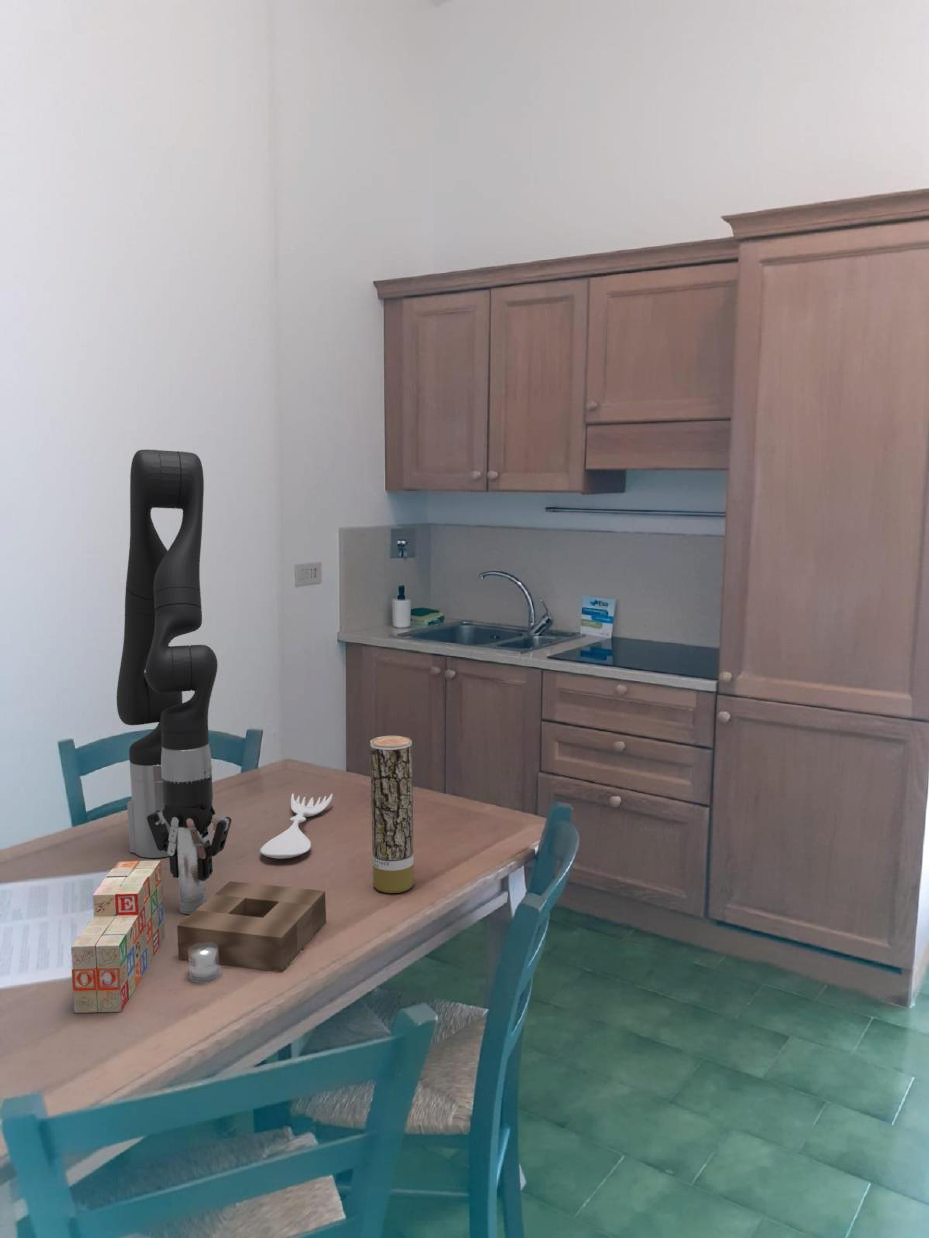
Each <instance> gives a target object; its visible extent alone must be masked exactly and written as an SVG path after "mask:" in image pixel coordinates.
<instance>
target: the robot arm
mask: <svg viewBox="0 0 929 1238" xmlns="http://www.w3.org/2000/svg"><path fill="white" fill-rule="evenodd" d="M129 476H130V477H129V478H130V480H129V483H130V484H129V502H130V503H129V504H130V505H129V516H130V517H129V519H130V520H129V522H130V523H129V525H130V526H129V527H130V528H129V533H130V534H129V548H128V549H129V550H128V561H127V570H126V571H127V572H126V582H125V598H124V630H123V632H124V633H123V645H122V651H121V652H122V653H121V660H120V665H119V673H118V680H117V686H116V687H117V688H116V710H117V714H118V717H119V719H120V721H121V722H122V723H123V724H125V725H126V726H141V725H149V724H155V723H158V724H157V726H156V727H155V728H154V729H153V730H151V732H149V733H148V734H146V735H145V736H143V737H141V738H140V739H138V740H136V741H134V742H133V743H131V745H130V746H129V749H128V756H129V759H128V760H129V773H130V787H131V789H130V790H131V791H130V792H131V800H128V802H127V803H126V807H127V808H126V810H127V824H128V825H127V826H128V827H127V828H128V840H129V841H128V843H129V844H128V845H129V853H131V852H132V853H134V854H135V855H137V856H138V855H139V857H142V858H147V859H149V858H150V859H151V858H152V859H156V858H160V859H161V858H165V857H166V858H167V857H169V859H168V860H169V871H170V874H172V877H173V879H174V878H175V879H178V859H177V831H178V827H179V826H186V827H188V829H189V830H190V833H191V836H192V840H193V843H194V845H195V846H196V847H197V850H198V853H199V857H200V858H199V859H198V865H199V880H200V881H205V882H206V881H207V880H208V879H209V878H210V876H212V875H213V857H215V856H217V855H218V854H219V853H220V852H222V851H223V850H224V848H225V845H226V841H227V838H228V834H229V832H230V828H231V825H232V818H231V817H230V816H225V817H223V816H220V815H218V814H216V811H215V809H214V806H213V798H214V794H213V792H214V791H213V771H212V770H213V765H212V755H211V754H212V753H211V749H210V741H209V739H210V737H209V736H210V735H209V708H210V702H211V697H212V693H213V689H214V685H215V681H216V677H217V673H218V658H217V655H216V653H215V651H213V650H214V649H212V648H211V647H209V646H208V645H206V644H190V645H172V646H170V643H171V642H172V640H174V639H175V638H177V637H179V636H182V635H187V634H190V633H193V632H196V631H198V630H199V629H200V628H201V627H202V624H203V612H202V610H203V609H202V598H201V597H202V596H201V593H202V592H201V584H200V583H201V581H200V578H201V577H200V573H201V571H200V570H201V568H200V565H201V564H200V563H201V552H202V551H201V549H202V548H201V547H202V539H203V538H202V536H203V535H202V534H203V516H204V515H203V514H204V513H203V512H204V493H205V492H204V491H205V488H204V487H205V483H204V482H205V480H204V479H205V478H204V470H203V464H202V461H201V459H200V457H199V456H198V454H196V453H195V452H194V453H193V452H190V451H188V452H187V451H179V450H178V451H176V450H159V449H140V450H139V449H138V450H137V451H136V452H135V453H134V455H133V457H132V460H131V467H130V474H129ZM156 508H157V509H173V510H174V509H175V510H177V509H179V510H182V519H181V524H180V528H179V530H178V532H177V534H176V536H175V539H174V540H173V542H172V543H171V545H170V546H169V548H168V549H167V547H166V545H164V542H163V541H162V540H161V537H160V536H159V533H158V531H157V529H156V527H155V525H154V522H153V519H152V514H151V513H152V509H156ZM191 691H193V692H194V693H193V695H192V696H191V697H190V699H189V700H187V701H185V702H183V692H191ZM211 824H212V825H213V826H212V827H213V828H212V829H213V831H214V833H213V837H212V833H211V829H210V827H209V826H210V825H211ZM201 834H203V836H202V837H201V836H200V835H201Z"/></svg>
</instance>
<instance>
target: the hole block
mask: <svg viewBox="0 0 929 1238" xmlns="http://www.w3.org/2000/svg"><path fill="white" fill-rule="evenodd" d="M326 909H327V908H326V890H320V889H311V888H310V889H309V888H300V887H293V886H291V887H290V886H279V885H270V884H261V883H260V884H259V883H253V882H252V883H251V882H241V881H232V880H230V881H229V882H227V883H226V884H225V885H224V886H222V887H221V888H220V889H219V890H218V891H216V892H215V893H214V894H213V895H211V896H210V898H208V899H206V902H205V903H203V904H202V905H201V906H200V907H199V908H197V909H196V910H195V911H194V912H193V913H192V914H188V916H186V917H185V918H184V919H183V920H182V921H181V922H180V923H178V924H177V925H176V930H177V931H176V932H177V933H176V934H177V951H178V959H179V960H187V961H189V955H188V950H189V948H190V947H191V946H193V945H195V944H197V943H201V942H213V943H216V944H217V945H218V950H219V965H225V966H234V967H242V968H250V969H259V970H266V971H267V970H268V971H272V972H273V971H275V972H284V970H286V969H287V967H288V966H289V965H290V963H292V962H293V960H294V959H295V958H296V957H297V956H298V954H299V953H301V952H302V950H303V949H304V947H306V945H307V944H308V943H309V942H310V941H311V939H312V938H313V937H314V936H315V935H316V934H317V933H318V932H319V931H320V929H321V928H322V927H323V926H324V925H325V924H326V922H327V913H326V912H327V910H326Z"/></svg>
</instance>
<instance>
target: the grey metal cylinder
mask: <svg viewBox="0 0 929 1238" xmlns="http://www.w3.org/2000/svg"><path fill="white" fill-rule="evenodd" d="M188 955H189V960H188V971H189V972H188V973H189V980H190V981H191V982H192V983H195V984H206V983H210V982H214V981H216V980H218V978H219V977H220V975H221V974H220V964H219V950H218V945H217V944H216V943H213V942H201V943H197V944H195V945H193V946H191V947H190V948H189V950H188Z"/></svg>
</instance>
